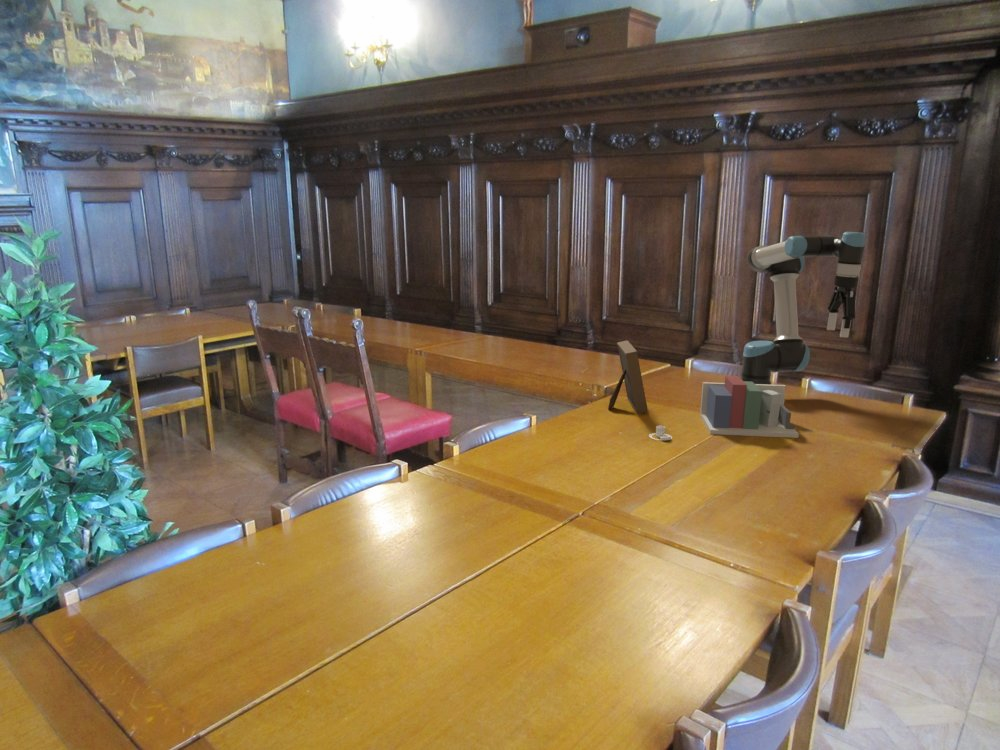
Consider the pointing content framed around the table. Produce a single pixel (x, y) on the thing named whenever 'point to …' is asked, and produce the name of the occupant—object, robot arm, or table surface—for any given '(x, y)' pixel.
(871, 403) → the table surface
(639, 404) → the photo frame
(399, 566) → the table surface
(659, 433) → the coiled charger cable
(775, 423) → the skincare box
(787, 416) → the book shelf
